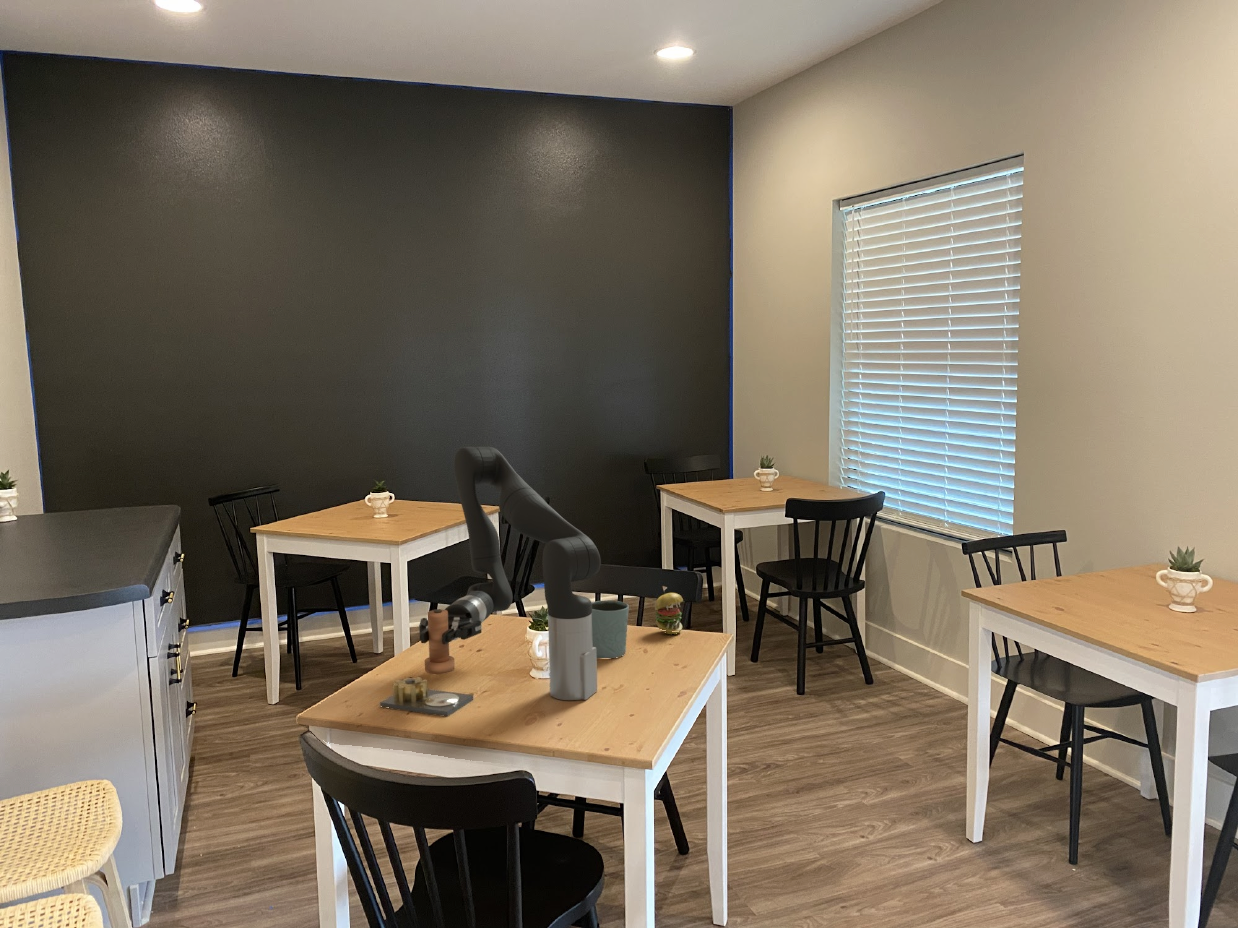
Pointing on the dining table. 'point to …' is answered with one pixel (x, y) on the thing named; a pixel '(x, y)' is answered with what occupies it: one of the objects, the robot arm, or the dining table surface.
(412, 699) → the sun gear
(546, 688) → the dining table surface
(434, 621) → the brown round post
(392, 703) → the carrier plate
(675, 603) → the hamburger
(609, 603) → the teal cup
